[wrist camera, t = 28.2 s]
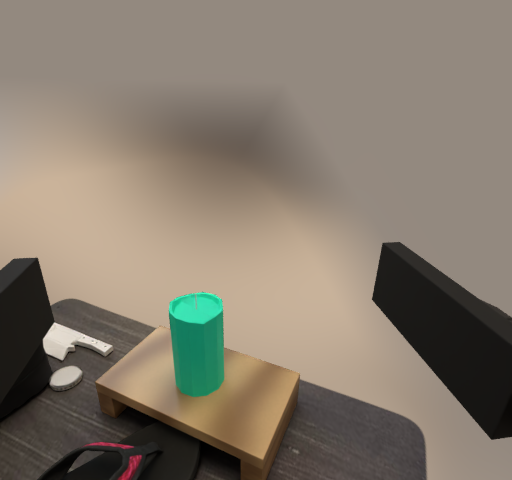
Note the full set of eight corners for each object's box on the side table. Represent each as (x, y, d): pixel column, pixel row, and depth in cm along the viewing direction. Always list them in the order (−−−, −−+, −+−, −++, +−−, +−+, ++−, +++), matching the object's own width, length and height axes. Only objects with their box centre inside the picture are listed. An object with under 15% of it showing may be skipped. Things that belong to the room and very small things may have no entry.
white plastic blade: (86, 372, 47) (84, 366, 47) (19, 341, 53) (17, 336, 52) (113, 349, 51) (112, 344, 51) (49, 323, 57) (48, 318, 57)
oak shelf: (297, 401, 43) (300, 373, 41) (261, 492, 33) (263, 459, 31) (163, 351, 52) (160, 325, 50) (101, 411, 41) (94, 381, 39)
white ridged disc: (43, 383, 45) (42, 380, 45) (70, 364, 48) (69, 361, 48) (62, 395, 43) (61, 391, 43) (88, 374, 47) (88, 371, 46)
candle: (168, 394, 38) (158, 307, 33) (184, 357, 43) (177, 278, 39) (219, 399, 37) (216, 312, 33) (228, 361, 43) (227, 282, 38)
